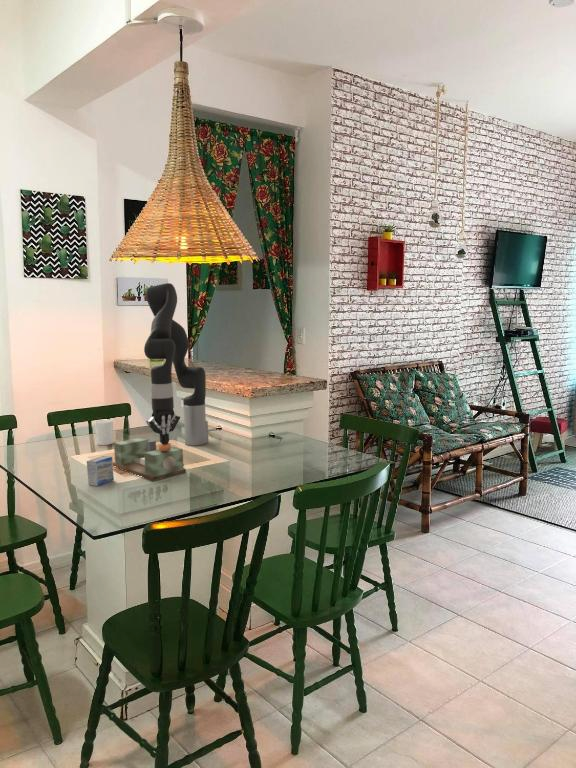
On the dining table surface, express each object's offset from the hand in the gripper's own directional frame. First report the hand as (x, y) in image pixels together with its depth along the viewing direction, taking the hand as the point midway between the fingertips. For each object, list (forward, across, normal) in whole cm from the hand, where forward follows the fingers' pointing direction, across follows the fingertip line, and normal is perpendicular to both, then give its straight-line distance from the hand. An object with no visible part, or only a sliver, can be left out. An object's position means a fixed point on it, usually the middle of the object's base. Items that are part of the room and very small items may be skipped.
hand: (164, 444), depth 225 cm
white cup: (+12, -9, -63) cm, 65 cm away
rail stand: (+12, 0, -12) cm, 17 cm away
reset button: (+2, 0, 0) cm, 2 cm away
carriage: (+10, 0, -8) cm, 12 cm away
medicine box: (+12, +20, -10) cm, 25 cm away
